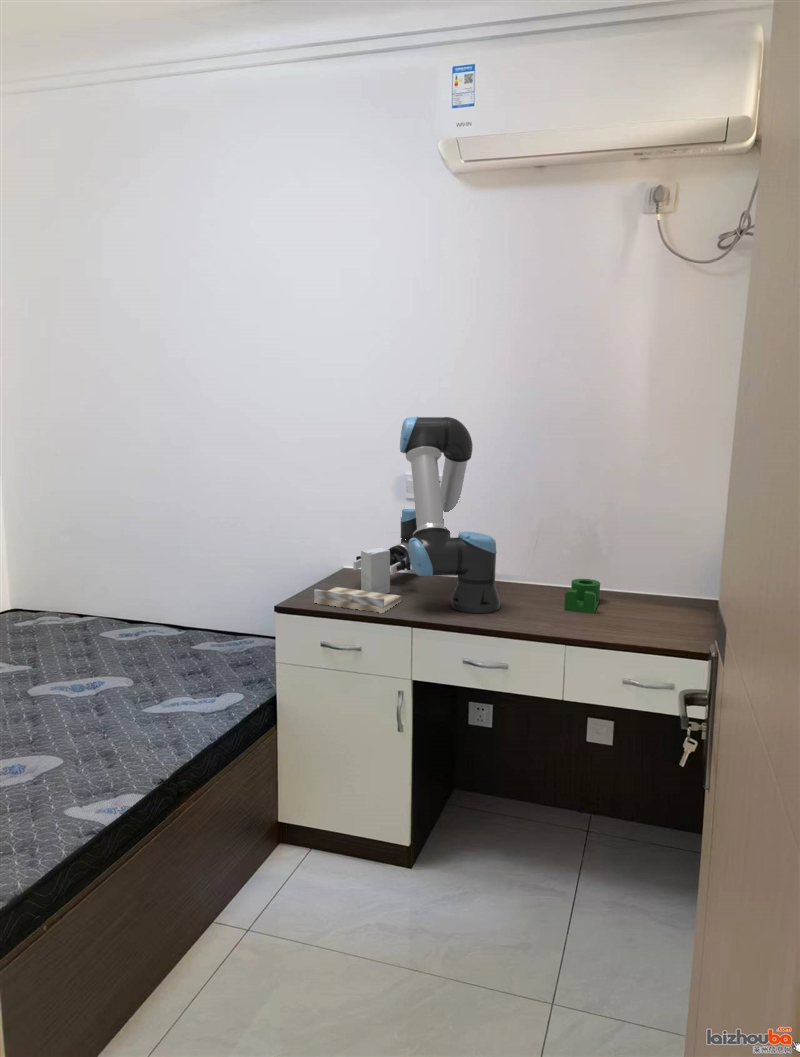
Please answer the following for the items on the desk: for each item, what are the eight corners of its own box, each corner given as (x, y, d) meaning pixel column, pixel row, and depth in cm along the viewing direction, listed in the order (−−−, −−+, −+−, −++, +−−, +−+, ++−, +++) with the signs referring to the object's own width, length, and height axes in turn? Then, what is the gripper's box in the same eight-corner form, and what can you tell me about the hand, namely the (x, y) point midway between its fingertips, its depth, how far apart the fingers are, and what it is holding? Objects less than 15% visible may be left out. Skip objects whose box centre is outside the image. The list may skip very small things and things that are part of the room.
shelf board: (401, 601, 244) (401, 588, 243) (382, 613, 231) (382, 599, 230) (335, 592, 253) (335, 580, 252) (313, 603, 240) (313, 590, 240)
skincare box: (379, 589, 258) (380, 546, 256) (390, 593, 254) (391, 549, 251) (359, 593, 253) (359, 549, 250) (370, 597, 248) (371, 552, 246)
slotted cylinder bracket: (572, 596, 253) (573, 577, 252) (600, 599, 250) (601, 580, 249) (564, 611, 237) (565, 591, 235) (593, 614, 233) (595, 594, 232)
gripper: (432, 569, 265) (407, 583, 246) (368, 562, 275) (339, 574, 256) (432, 548, 264) (407, 560, 245) (368, 541, 274) (339, 553, 255)
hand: (372, 568), depth 250 cm, fingers open, 13 cm apart
